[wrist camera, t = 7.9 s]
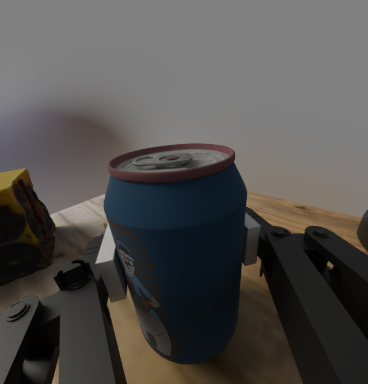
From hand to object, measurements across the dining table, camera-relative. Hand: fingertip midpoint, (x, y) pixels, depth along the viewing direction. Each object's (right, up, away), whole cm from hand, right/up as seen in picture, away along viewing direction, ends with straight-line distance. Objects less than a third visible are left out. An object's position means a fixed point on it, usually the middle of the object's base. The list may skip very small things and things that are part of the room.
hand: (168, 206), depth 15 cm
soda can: (+2, -8, -2) cm, 8 cm away
